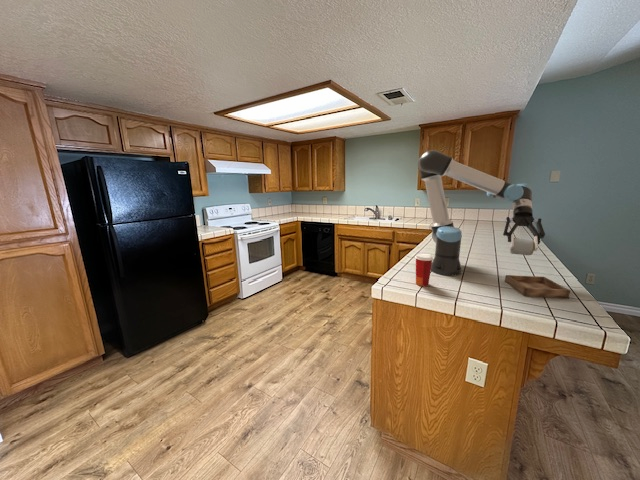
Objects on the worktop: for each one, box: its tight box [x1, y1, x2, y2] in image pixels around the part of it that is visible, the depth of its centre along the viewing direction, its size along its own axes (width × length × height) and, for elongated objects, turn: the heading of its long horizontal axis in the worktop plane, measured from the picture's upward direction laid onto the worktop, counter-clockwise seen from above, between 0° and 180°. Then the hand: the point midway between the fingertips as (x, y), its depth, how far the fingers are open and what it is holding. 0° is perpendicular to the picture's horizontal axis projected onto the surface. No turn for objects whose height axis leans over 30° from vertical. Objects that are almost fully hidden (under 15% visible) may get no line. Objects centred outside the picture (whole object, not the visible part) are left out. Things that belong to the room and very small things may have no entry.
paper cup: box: [414, 253, 434, 287], centre depth 119 cm, size 8×8×14 cm
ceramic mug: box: [509, 237, 535, 256], centre depth 122 cm, size 11×8×8 cm
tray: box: [504, 274, 571, 299], centre depth 112 cm, size 16×16×4 cm
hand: (523, 248), depth 117 cm, fingers closed on ceramic mug, 8 cm apart
